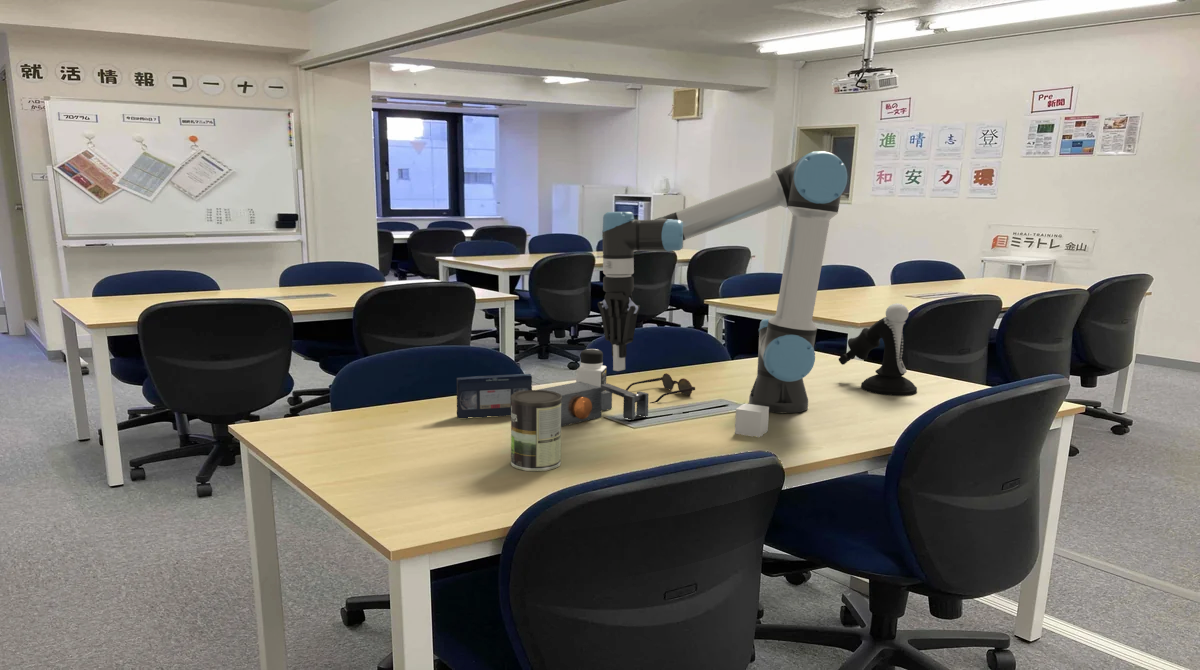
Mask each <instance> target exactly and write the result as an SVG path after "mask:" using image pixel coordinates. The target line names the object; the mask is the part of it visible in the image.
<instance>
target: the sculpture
mask: <svg viewBox="0 0 1200 670" xmlns="http://www.w3.org/2000/svg"><path fill="white" fill-rule="evenodd" d="M909 315H910V314H909V310H908V307H906V305H904V304H902V303H892V304H890V305H889V306H888V307H887V308H886V310H885V316H884V317H883V318H880V319H879V320H877V321H876V322H875V323H874V324H872V325H871V326H870V327H869V328H867V327H864V328H862V330H861V332H860V333H859V334H858V335H857V336H855V337H851V338H849V339H848V340H847V346H848V348H849V350H848V351H847V352H846V353H844V354H841V355H839V358H838V361H839V363H840V364H841V365H842V366H843V365H845V364H847V363H848V362H849V361H851V360H854V359H855V358H858V359H859V360H862V361H864V360H867V359H868V355H869V354H870V352H871V351H872V350H874V349H876V348H878V347H880V344H881V342H880V340H882V341H883V344H884V350H883V357H882V363H881V366H880V367H879V368H877V369H876V370H875V373H876V374H874V375H871V376H869V377H867V378H866V379H864V380H863V381H862V382H861V384H860V385H861V386H860V388H861V389H862V390H863V391H865V392H868V393H873V394H876V395H877V394H878V395H883V396H884V395H885V396H893V397H894V396H896V397H898V396H912V395H914V394H917V392H918V390H917V389H918V387H917V386H916V385H915V383H913V382H912V381H911V380H910V379H908V378H906V377H904V375H905V374H906V373H907V371H908V370H907V369H906V366H905V364H904V362H903V359H902V357H903V354H904V353H903V351H904V334H903V332H904V331H903V328H904V325H905V324H906V321H907V319H908V318H909Z"/></svg>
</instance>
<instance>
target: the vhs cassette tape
mask: <svg viewBox="0 0 1200 670" xmlns="http://www.w3.org/2000/svg"><path fill="white" fill-rule="evenodd" d="M455 379H456V390H455V391H456V416H457V419H458V418H466V419H469V418H468V417H482V418H488V417H487V416H498V417H507V416H506V415H511V400H510V397H511V395H512V394H514V393H517V392H520V391H527V390H533V377H532V375H531V373H520V374H519V373H517V374H499V375H498V374H497V375H477V376H462V377H456V378H455Z"/></svg>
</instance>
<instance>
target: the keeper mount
mask: <svg viewBox="0 0 1200 670" xmlns="http://www.w3.org/2000/svg"><path fill="white" fill-rule="evenodd" d="M638 393H642V394H643V397H644V399H643V401H640V402H635V396H632V395H628V394H625V395H624V397H623V411H622V412H623V413H622V414H623V415H622V418H623V417H624V418H628V419H631V420H633V419H635V420H636V416H637V415H641V416H645V417H646V416H648V417H649V393H648V392H643V391H636V394H638ZM611 408H612V409H613V393H611V392H608V391H602V392H601V411H602V410H604V411H608V410H607V409H609V410H612V409H611ZM636 414H637V415H636Z"/></svg>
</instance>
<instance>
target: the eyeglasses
mask: <svg viewBox="0 0 1200 670" xmlns="http://www.w3.org/2000/svg"><path fill="white" fill-rule="evenodd" d="M659 381H660V382H661V381H662V386H663V387H664V389H666V388H667V389H666V390H669V389H670V390H669V392H665V393H663V394H661V395H660V396H659V397H658V398H657V399H656V400H655V401H651V402H649V404H655V403H654V402H657V403H658V402H659V401H660V400H662V399H663V398H664V397H665V396H669V395H674V394H680V393H681V394H682V393H684V394H683V395H686V394H687V395H686V396H691V394H692V393H693V391H696V387H695V386H692V384H691V382H690V381H689V380H688V379H686V378H680V379H679V380H678V381H677V380H673V379H672V377H671V375H670V374H669V373H664V374H663V375H662V376H661V377H657V378H656V377H655V378H651V379H646V380H641V381H635V382H632V383H630V384H629V385H628V386H627V388H626V389H625V390H627V391H629V389H630V388H631V387H632V386H634V385H640V384H645V383H646V384H647V383H654V382H659ZM676 384H677V388H678V390H674V391H673V389H674V386H675V385H676Z"/></svg>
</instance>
